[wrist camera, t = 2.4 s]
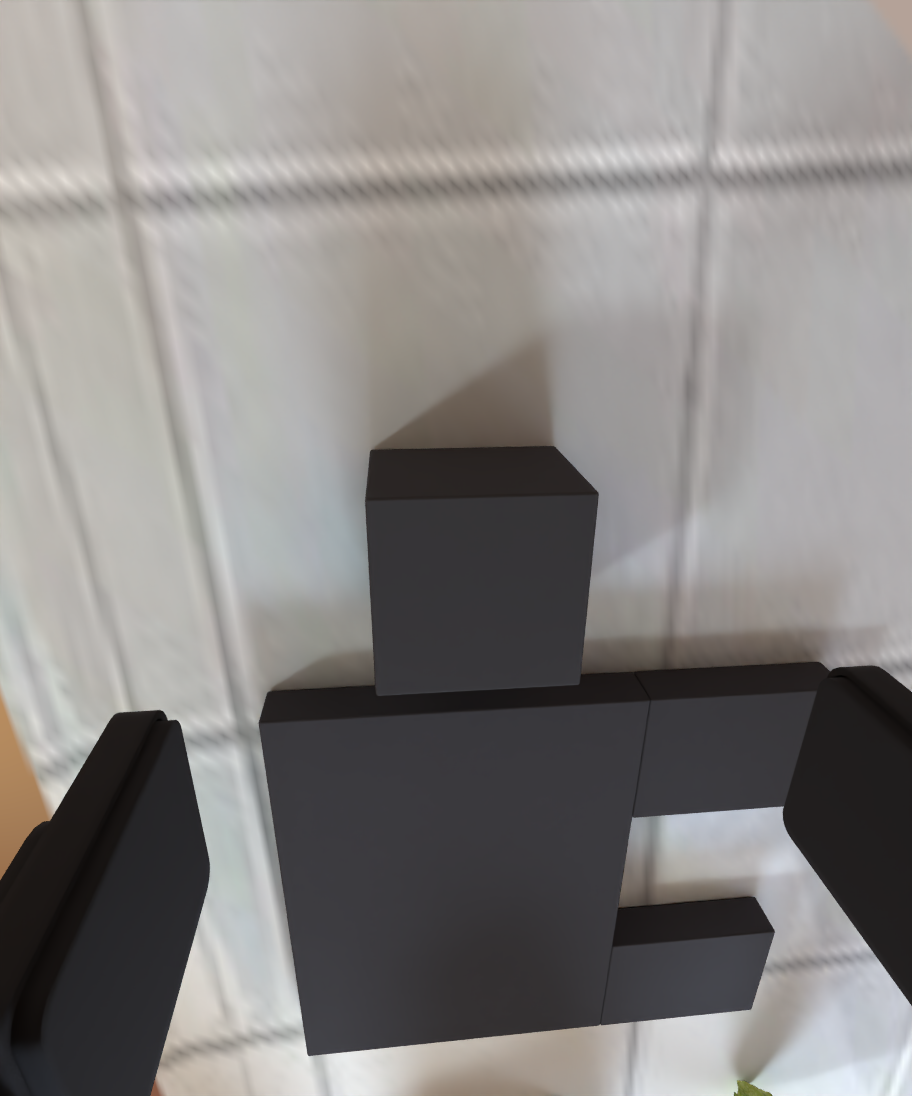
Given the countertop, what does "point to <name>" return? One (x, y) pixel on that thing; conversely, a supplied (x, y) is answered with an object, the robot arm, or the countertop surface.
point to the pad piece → (477, 568)
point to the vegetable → (749, 1090)
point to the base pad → (516, 849)
